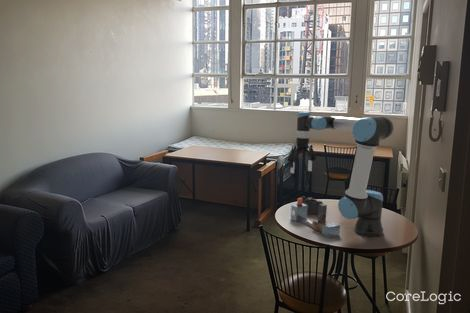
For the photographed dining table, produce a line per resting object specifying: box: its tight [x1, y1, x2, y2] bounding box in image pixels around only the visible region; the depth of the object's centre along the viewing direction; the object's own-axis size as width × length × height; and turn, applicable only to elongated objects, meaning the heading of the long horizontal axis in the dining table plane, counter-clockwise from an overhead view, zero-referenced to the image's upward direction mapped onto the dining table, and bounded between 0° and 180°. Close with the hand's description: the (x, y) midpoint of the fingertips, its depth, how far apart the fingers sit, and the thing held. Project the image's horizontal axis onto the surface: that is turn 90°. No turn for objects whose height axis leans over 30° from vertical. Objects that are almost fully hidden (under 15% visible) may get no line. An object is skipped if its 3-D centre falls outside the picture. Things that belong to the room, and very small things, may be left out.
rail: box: [290, 203, 341, 239], centre depth 229 cm, size 32×8×9 cm, turn 30°
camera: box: [300, 196, 324, 217], centre depth 256 cm, size 14×11×10 cm
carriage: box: [312, 203, 329, 234], centre depth 224 cm, size 8×6×15 cm
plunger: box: [296, 197, 302, 206], centre depth 240 cm, size 3×3×4 cm
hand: (301, 171), depth 249 cm, fingers open, 13 cm apart
